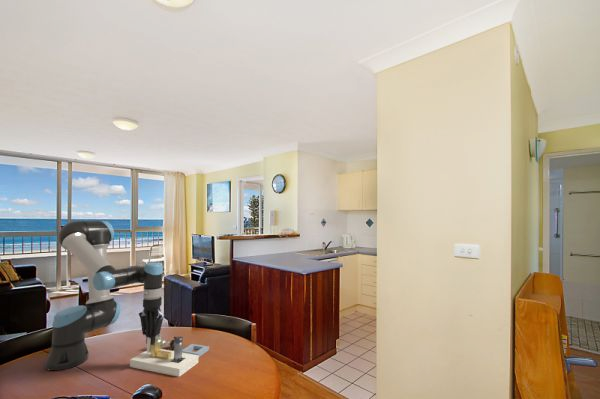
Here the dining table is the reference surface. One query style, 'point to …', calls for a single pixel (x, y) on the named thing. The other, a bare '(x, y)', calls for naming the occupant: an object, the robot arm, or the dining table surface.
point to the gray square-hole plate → (200, 348)
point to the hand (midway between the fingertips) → (150, 351)
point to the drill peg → (178, 349)
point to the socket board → (164, 363)
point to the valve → (164, 342)
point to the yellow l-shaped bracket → (159, 351)
